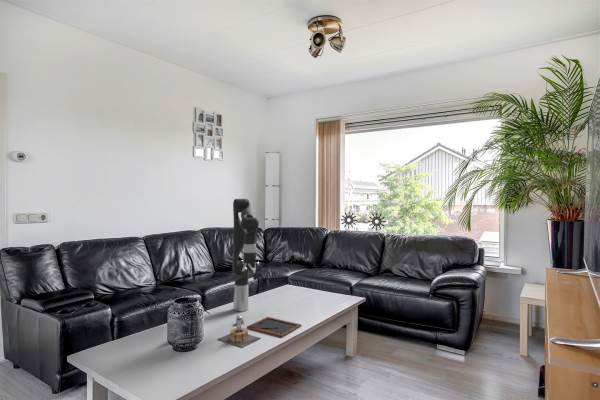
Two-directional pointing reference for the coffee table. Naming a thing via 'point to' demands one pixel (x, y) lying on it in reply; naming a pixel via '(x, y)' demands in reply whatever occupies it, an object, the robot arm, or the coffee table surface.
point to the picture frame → (274, 327)
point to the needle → (238, 323)
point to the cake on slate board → (239, 338)
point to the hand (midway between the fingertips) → (249, 278)
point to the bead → (241, 321)
